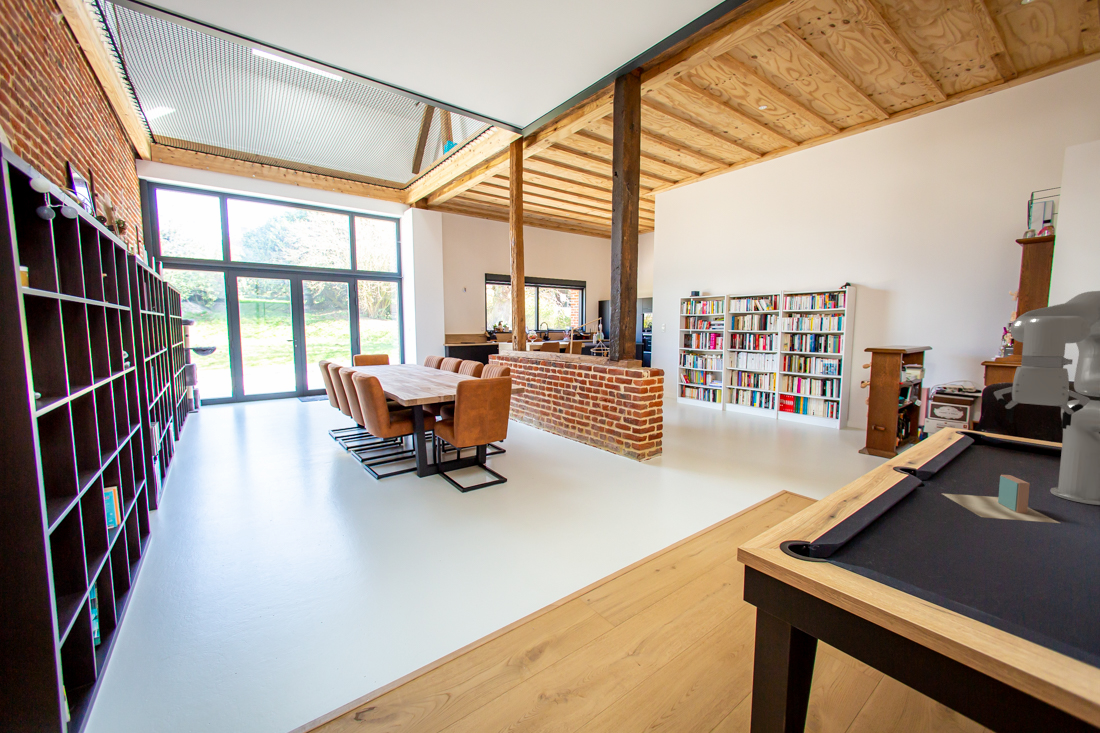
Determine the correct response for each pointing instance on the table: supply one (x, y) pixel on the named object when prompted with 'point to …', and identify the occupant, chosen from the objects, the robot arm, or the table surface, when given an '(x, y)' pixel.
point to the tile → (1013, 493)
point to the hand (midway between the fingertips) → (1036, 425)
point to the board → (996, 508)
